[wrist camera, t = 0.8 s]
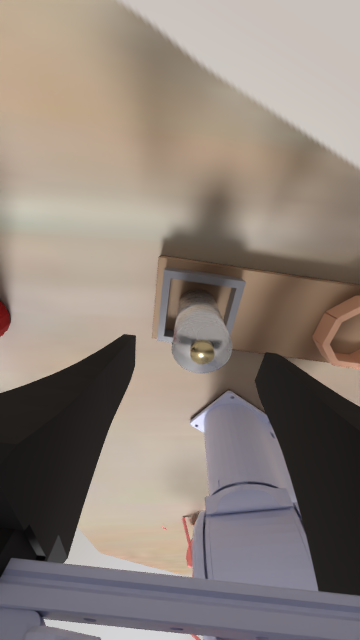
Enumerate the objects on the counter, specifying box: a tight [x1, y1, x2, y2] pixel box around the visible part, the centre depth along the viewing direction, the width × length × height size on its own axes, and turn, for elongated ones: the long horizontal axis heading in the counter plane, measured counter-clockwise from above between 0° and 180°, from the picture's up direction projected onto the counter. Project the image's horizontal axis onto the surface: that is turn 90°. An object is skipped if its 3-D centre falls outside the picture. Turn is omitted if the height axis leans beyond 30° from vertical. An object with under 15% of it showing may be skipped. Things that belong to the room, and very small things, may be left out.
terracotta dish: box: [312, 295, 360, 369], centre depth 17 cm, size 7×7×2 cm
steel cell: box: [172, 289, 232, 373], centre depth 14 cm, size 4×4×8 cm
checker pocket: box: [157, 267, 246, 343], centre depth 17 cm, size 7×7×2 cm
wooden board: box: [152, 255, 360, 363], centre depth 18 cm, size 23×8×2 cm, turn 82°
